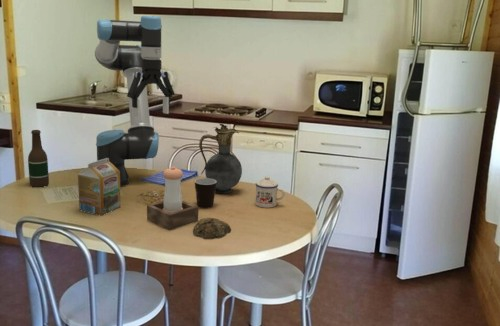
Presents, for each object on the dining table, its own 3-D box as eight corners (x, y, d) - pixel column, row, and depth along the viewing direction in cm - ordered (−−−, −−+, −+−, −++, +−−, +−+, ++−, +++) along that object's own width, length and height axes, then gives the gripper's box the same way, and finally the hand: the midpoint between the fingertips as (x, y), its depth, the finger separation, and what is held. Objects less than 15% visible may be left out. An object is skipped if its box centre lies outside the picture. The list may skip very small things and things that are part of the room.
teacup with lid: (252, 206, 192) (253, 178, 189) (257, 199, 201) (258, 172, 198) (281, 210, 190) (283, 182, 187) (285, 203, 198) (287, 175, 195)
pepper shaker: (186, 219, 173) (187, 167, 168) (167, 222, 169) (167, 170, 164) (177, 212, 179) (177, 163, 174) (159, 216, 175) (159, 165, 170)
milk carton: (99, 202, 189) (98, 155, 184) (120, 207, 184) (119, 159, 180) (79, 210, 180) (77, 161, 175) (101, 216, 175) (99, 165, 170)
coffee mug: (212, 210, 186) (213, 185, 184) (191, 207, 188) (191, 183, 185) (220, 200, 197) (221, 177, 195) (200, 198, 199) (200, 175, 196)
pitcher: (237, 197, 202) (239, 127, 195) (194, 192, 207) (195, 123, 199) (243, 189, 213) (246, 123, 205) (202, 185, 217) (204, 119, 209)
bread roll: (203, 223, 174) (203, 210, 172) (234, 229, 169) (235, 216, 168) (185, 235, 162) (185, 222, 161) (218, 243, 158) (218, 228, 156)
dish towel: (199, 176, 232) (199, 170, 231) (169, 188, 212) (169, 182, 211) (171, 170, 240) (171, 165, 239) (139, 181, 219) (139, 176, 219)
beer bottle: (36, 182, 210) (32, 128, 204) (52, 183, 210) (49, 129, 203) (25, 187, 203) (21, 131, 197) (43, 188, 202) (39, 132, 196)
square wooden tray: (147, 219, 174) (146, 205, 172) (175, 211, 183) (175, 197, 182) (169, 230, 165) (169, 215, 164) (198, 221, 175) (198, 206, 173)
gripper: (128, 59, 169) (129, 119, 174) (183, 59, 187) (182, 113, 192) (116, 58, 174) (118, 116, 179) (171, 58, 192) (171, 110, 197)
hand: (151, 114), depth 186 cm, fingers open, 13 cm apart
